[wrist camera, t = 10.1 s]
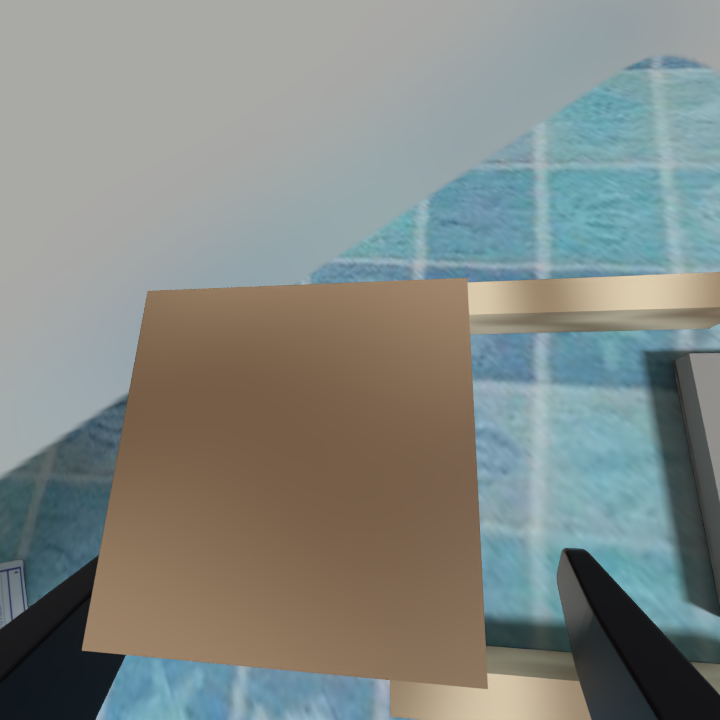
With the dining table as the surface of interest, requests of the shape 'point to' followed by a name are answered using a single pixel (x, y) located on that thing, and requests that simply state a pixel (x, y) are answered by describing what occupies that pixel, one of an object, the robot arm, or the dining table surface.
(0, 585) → the medicine box
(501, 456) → the dining table surface
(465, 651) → the walnut block
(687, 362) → the tray
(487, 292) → the channel
